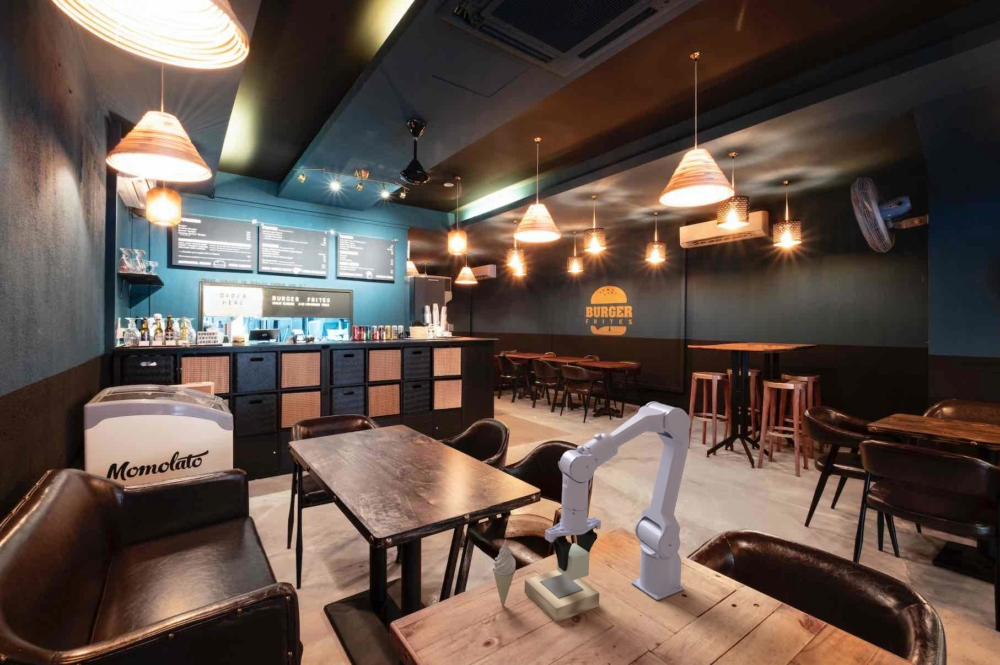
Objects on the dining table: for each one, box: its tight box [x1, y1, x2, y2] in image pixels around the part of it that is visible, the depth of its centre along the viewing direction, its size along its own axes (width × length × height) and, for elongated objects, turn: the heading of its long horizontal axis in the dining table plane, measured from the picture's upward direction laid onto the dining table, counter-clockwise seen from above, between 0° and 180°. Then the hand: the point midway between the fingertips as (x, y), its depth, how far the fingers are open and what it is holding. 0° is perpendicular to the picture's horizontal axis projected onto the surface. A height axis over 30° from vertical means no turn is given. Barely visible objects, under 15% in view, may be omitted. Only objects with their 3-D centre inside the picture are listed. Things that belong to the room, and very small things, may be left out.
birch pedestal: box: [523, 569, 600, 623], centre depth 103 cm, size 12×12×3 cm
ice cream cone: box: [492, 538, 517, 607], centre depth 99 cm, size 5×5×15 cm
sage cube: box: [556, 542, 590, 581], centre depth 101 cm, size 5×5×5 cm
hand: (572, 565), depth 101 cm, fingers closed on sage cube, 5 cm apart
